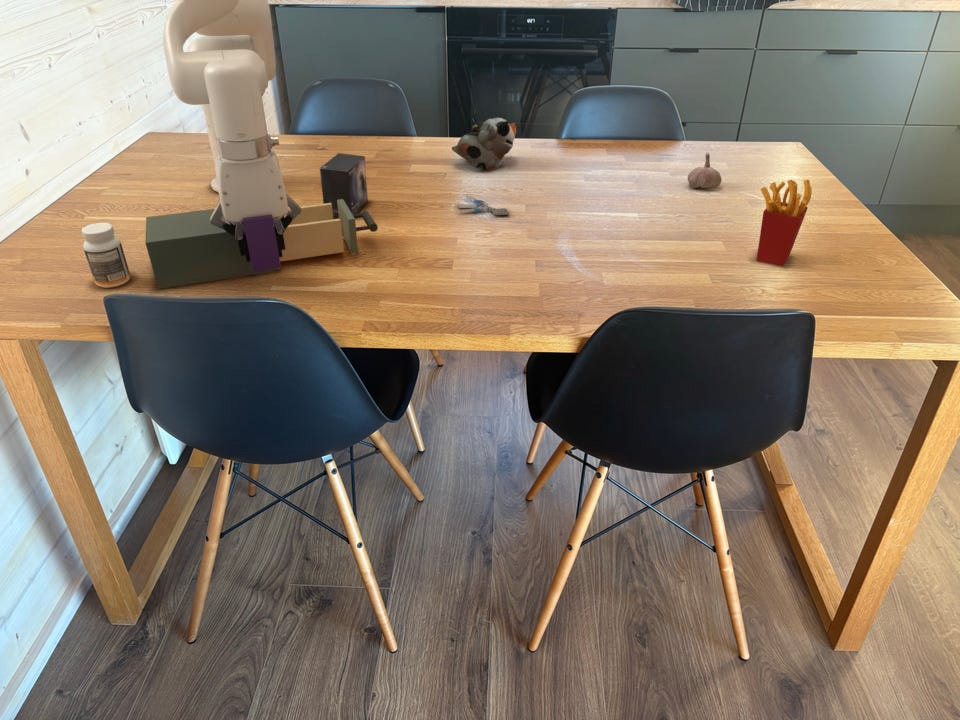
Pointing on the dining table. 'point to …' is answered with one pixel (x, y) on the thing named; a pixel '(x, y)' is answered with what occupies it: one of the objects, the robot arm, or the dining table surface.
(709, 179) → the garlic bulb
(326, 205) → the drawer
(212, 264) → the cabinet
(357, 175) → the small box
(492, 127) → the lucky cat figurine
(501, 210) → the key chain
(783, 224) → the french fries
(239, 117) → the robot arm
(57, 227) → the dining table surface
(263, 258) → the snack carton
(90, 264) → the pill bottle
